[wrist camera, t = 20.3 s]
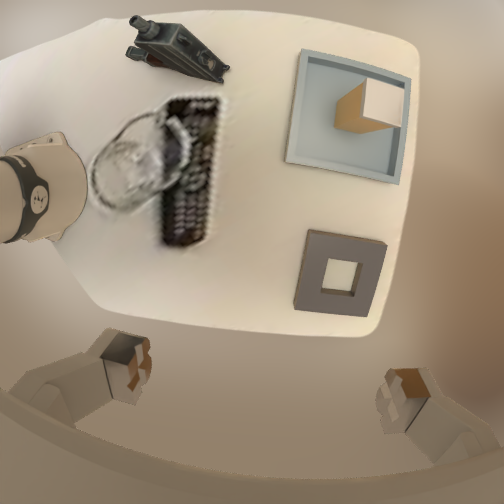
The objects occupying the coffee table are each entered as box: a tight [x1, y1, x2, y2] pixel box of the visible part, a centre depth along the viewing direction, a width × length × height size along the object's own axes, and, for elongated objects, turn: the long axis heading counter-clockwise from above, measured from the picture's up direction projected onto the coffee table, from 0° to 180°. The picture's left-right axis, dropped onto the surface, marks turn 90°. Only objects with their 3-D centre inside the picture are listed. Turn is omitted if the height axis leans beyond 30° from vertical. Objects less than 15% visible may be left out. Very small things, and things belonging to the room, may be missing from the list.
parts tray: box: [284, 49, 411, 185], centre depth 36 cm, size 16×16×4 cm
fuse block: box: [294, 230, 388, 317], centre depth 44 cm, size 12×12×2 cm
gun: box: [125, 15, 230, 83], centre depth 29 cm, size 3×17×15 cm
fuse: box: [334, 78, 404, 134], centre depth 31 cm, size 4×4×13 cm
